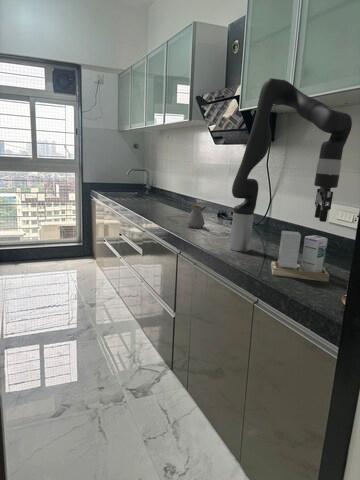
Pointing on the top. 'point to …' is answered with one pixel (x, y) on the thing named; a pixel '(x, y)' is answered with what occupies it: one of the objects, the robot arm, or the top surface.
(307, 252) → the syrup box
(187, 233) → the top surface
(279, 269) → the wooden tray
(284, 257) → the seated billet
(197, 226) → the coffee pot
